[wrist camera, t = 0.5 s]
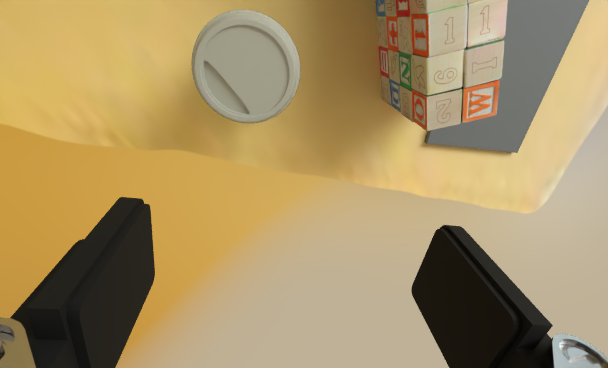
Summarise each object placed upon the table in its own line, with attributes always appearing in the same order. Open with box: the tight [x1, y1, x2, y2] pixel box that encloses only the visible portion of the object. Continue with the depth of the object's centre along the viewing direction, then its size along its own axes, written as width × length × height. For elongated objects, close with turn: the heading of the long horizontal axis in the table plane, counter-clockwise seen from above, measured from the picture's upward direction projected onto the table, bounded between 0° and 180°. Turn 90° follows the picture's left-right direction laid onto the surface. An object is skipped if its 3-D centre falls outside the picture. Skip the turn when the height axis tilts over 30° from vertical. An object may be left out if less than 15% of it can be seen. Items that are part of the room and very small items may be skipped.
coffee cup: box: [192, 10, 300, 123], centre depth 29 cm, size 8×8×12 cm
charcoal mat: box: [425, 0, 589, 153], centre depth 35 cm, size 27×13×1 cm, turn 172°
